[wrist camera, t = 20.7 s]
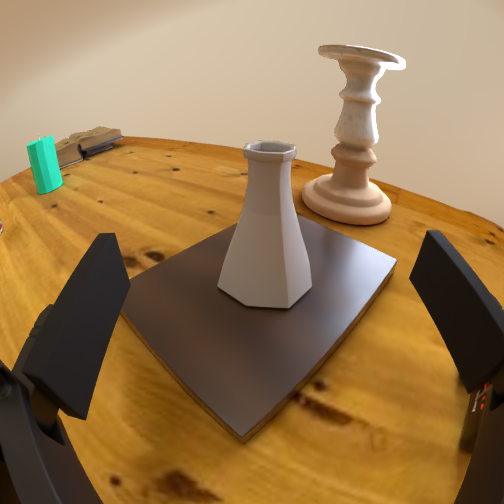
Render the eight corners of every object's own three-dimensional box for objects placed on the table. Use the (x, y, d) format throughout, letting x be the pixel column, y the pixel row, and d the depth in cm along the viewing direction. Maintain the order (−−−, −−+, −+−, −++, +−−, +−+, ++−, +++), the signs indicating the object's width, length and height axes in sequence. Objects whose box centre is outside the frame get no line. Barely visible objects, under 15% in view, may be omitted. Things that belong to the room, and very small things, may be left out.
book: (40, 177, 51) (34, 155, 48) (36, 167, 61) (32, 149, 57) (125, 146, 66) (122, 125, 62) (107, 141, 75) (105, 123, 72)
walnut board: (243, 444, 12) (241, 438, 12) (113, 304, 21) (108, 290, 20) (393, 272, 24) (397, 259, 23) (273, 216, 33) (274, 204, 32)
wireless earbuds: (497, 378, 13) (521, 353, 11) (481, 459, 9) (514, 440, 7) (456, 360, 16) (478, 332, 14) (433, 441, 11) (462, 421, 9)
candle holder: (380, 238, 29) (409, 53, 17) (285, 206, 35) (291, 41, 23) (396, 201, 37) (416, 67, 25) (322, 179, 43) (330, 54, 31)
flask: (296, 324, 18) (318, 174, 12) (200, 292, 20) (183, 156, 14) (321, 261, 23) (339, 143, 17) (243, 241, 26) (241, 130, 20)
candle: (66, 184, 45) (54, 127, 38) (40, 196, 41) (26, 138, 34) (59, 179, 48) (48, 127, 41) (36, 190, 44) (23, 137, 37)
